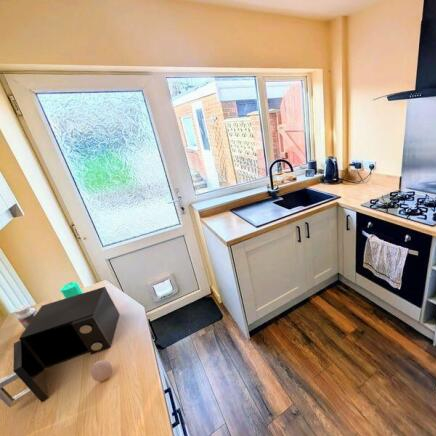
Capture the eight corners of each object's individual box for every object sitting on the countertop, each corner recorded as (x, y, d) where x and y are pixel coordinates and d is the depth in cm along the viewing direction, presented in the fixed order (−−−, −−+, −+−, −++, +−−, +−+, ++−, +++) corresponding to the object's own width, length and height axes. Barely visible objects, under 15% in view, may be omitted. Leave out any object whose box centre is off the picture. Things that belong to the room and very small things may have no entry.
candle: (79, 309, 109) (66, 288, 104) (68, 308, 110) (54, 287, 105) (91, 299, 114) (79, 278, 109) (80, 299, 115) (68, 278, 110)
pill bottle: (24, 333, 99) (10, 315, 95) (28, 324, 103) (15, 307, 99) (41, 326, 101) (28, 309, 97) (45, 318, 106) (32, 301, 101)
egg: (108, 384, 76) (99, 370, 73) (92, 386, 76) (82, 372, 73) (119, 368, 80) (110, 354, 77) (103, 369, 80) (94, 356, 78)
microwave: (110, 349, 87) (91, 318, 81) (40, 375, 81) (14, 344, 75) (119, 314, 103) (104, 286, 97) (62, 334, 96) (41, 305, 90)
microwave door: (14, 420, 69) (-19, 388, 63) (14, 387, 78) (-14, 357, 72) (48, 398, 74) (21, 366, 67) (45, 370, 82) (20, 339, 76)
